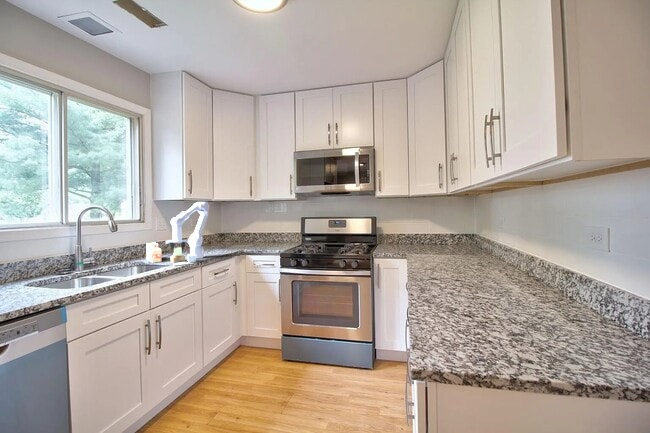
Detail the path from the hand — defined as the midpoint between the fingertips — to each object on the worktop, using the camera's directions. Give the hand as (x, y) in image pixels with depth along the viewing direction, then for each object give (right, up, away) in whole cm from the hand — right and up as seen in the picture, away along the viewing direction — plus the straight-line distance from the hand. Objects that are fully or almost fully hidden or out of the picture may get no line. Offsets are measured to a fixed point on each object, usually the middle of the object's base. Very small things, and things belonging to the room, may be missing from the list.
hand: (177, 252), depth 214 cm
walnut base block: (0, -6, 0) cm, 6 cm away
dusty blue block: (+12, -6, -3) cm, 13 cm away
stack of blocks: (-20, -6, +5) cm, 21 cm away
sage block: (0, -1, 0) cm, 1 cm away
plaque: (+9, -6, -13) cm, 17 cm away
